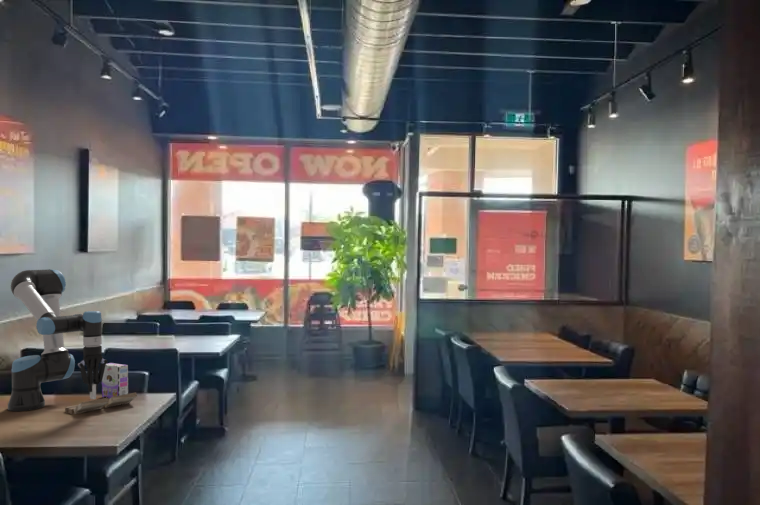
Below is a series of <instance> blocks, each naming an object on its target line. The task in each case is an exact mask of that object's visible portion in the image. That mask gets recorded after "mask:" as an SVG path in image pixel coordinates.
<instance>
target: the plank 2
mask: <svg viewBox="0 0 760 505" xmlns="http://www.w3.org/2000/svg"><path fill="white" fill-rule="evenodd" d="M137 397H138V394H137V392H132V393H128V394H125V395H120V396H115V397H111V398H108V399H109V400H108V403H107V404H105V408H104V409H106V407H107V408H111V406H112V407H116V405H117V406H122V405H126V404H125V403H127V404H130V403H132V401H133V400H135V399H136V398H137ZM121 404H122V405H121Z"/></svg>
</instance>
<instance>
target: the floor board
mask: <svg viewBox="0 0 760 505" xmlns="http://www.w3.org/2000/svg"><path fill="white" fill-rule="evenodd" d="M109 399H110V398H108V400H109ZM78 405H79V404H75V405H70V406H66V407H65V406H64V412H65V413H67V414H70V415H76V414H78V413H76V414H75V413H74V409H75V408H76V407H77V406H78ZM101 409H106V408H105V405H104V406H103V407H102V408H101ZM101 409H100V410H101ZM97 410H98V409H96V410H95V411H97ZM91 411H93V410H91ZM91 411H90V412H91ZM86 412H88V411H86ZM86 412H85V413H86ZM82 413H83V412H81V413H80V414H82Z"/></svg>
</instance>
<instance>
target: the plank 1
mask: <svg viewBox="0 0 760 505" xmlns="http://www.w3.org/2000/svg"><path fill="white" fill-rule="evenodd" d="M108 399H109V398H104V397H103V398H101V399H92V400H88V401H84V402H80V403H79V404H77V405H78V406H77V407H76V408H75V409H74V413H75V414H74V415H76V413H77V414H82V413H86V411H87V412H91V410H92V411H97V410H101V408H102V407H103V406H104V405H105V404H107V403H108ZM96 409H97V410H96ZM102 409H103V408H102ZM81 412H82V413H81Z"/></svg>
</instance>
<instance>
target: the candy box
mask: <svg viewBox="0 0 760 505" xmlns="http://www.w3.org/2000/svg"><path fill="white" fill-rule="evenodd" d="M125 394H129V365H128V364H121V363H114V362H109V363H108V362H107V363H106V365H105V370H104V374H103V379H102V381H101V397H102V398H104V397H107V398H108V399H110V398H111V397H115V396H120V395H125Z"/></svg>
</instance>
